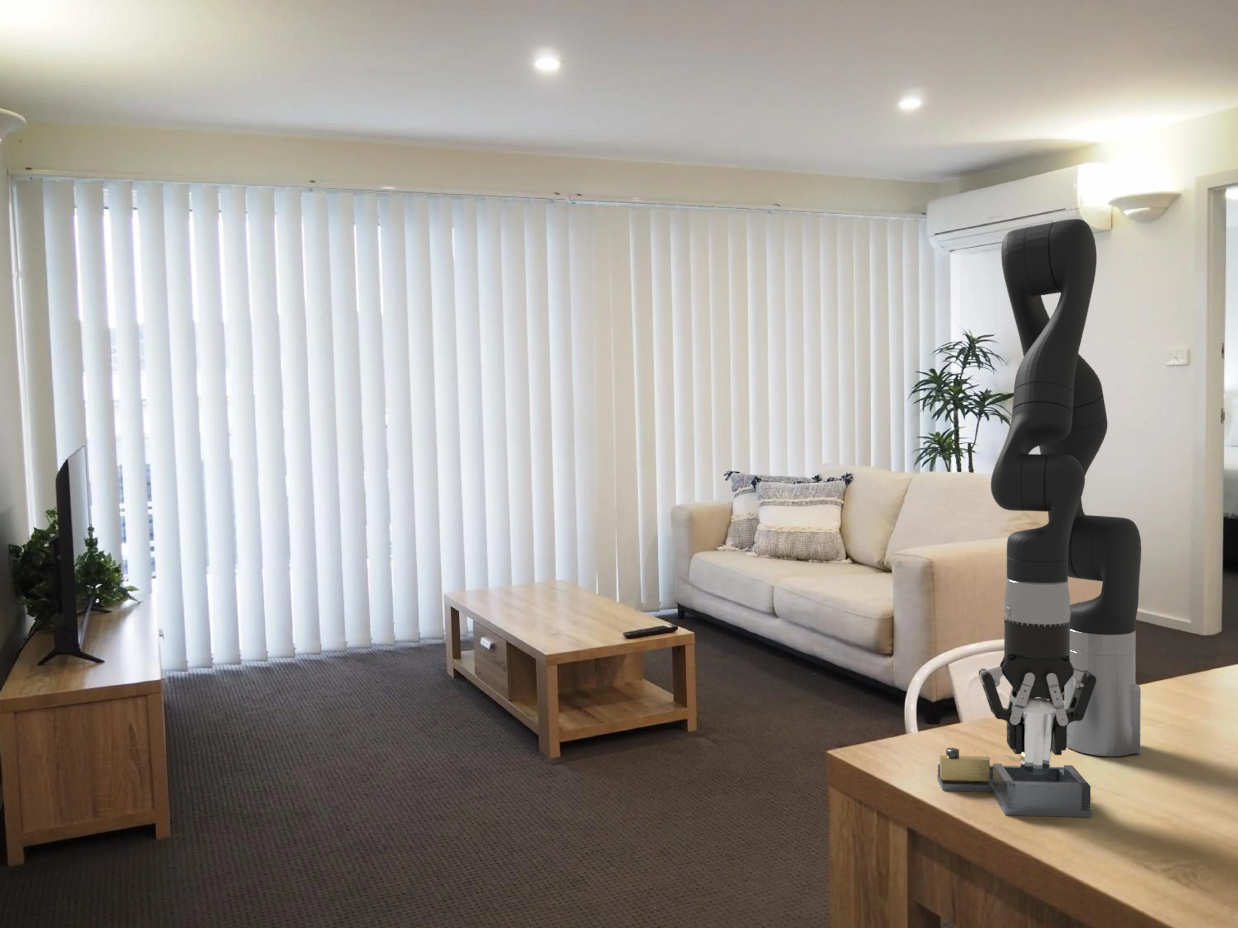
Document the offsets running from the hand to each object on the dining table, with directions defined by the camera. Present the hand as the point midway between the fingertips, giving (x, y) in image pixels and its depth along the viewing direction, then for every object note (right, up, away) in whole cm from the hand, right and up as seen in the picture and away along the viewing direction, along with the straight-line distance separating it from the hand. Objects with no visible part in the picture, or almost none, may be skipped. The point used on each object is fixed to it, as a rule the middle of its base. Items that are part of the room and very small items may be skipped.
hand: (1036, 751), depth 129 cm
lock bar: (-7, -5, +6) cm, 10 cm away
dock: (-2, -6, +2) cm, 7 cm away
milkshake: (0, -2, 0) cm, 2 cm away
